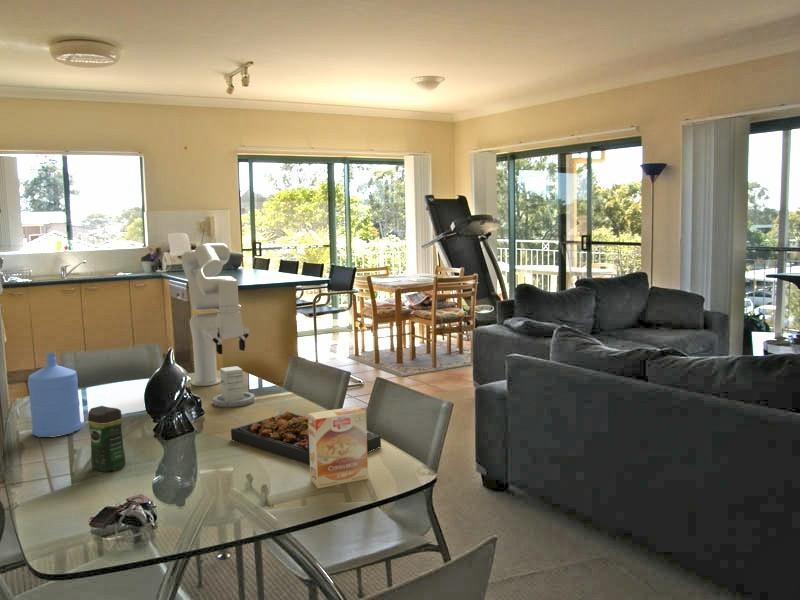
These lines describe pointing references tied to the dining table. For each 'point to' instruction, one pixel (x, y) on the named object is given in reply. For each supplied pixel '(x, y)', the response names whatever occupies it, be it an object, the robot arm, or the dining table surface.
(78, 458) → the dining table surface
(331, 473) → the coffeecake box
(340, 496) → the dining table surface
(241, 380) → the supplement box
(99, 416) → the coffee jar
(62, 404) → the water jug
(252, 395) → the saucer
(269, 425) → the food platter
